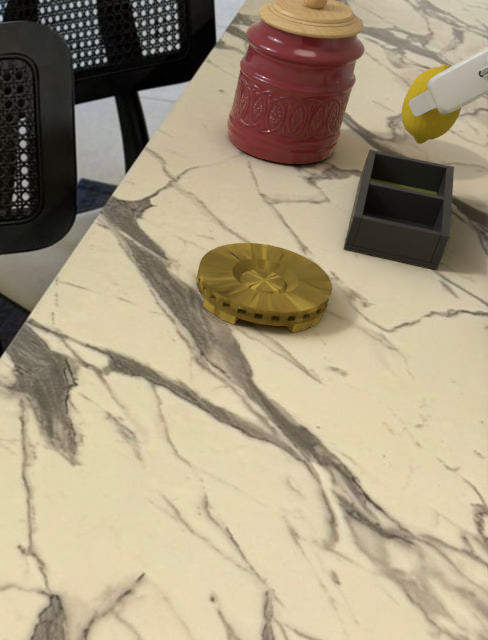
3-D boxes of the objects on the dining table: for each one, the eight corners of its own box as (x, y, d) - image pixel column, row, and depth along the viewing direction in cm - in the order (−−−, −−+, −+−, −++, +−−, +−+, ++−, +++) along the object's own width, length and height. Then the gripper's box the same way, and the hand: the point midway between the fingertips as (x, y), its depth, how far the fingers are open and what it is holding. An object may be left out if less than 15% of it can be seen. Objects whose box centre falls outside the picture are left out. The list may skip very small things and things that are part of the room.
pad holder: (442, 197, 113) (454, 166, 110) (436, 270, 100) (449, 237, 98) (359, 179, 115) (369, 149, 112) (343, 249, 102) (353, 216, 100)
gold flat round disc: (194, 322, 90) (199, 301, 89) (194, 256, 99) (198, 235, 97) (331, 341, 89) (338, 320, 88) (319, 272, 98) (325, 252, 97)
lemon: (411, 128, 109) (437, 51, 103) (456, 147, 106) (486, 69, 100) (381, 139, 106) (406, 60, 101) (426, 159, 103) (455, 79, 97)
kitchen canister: (225, 114, 126) (258, -41, 114) (331, 128, 125) (375, -26, 113) (223, 157, 117) (258, -7, 105) (338, 173, 115) (386, 9, 104)
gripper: (542, 84, 86) (398, 156, 97) (614, 34, 99) (479, 103, 110) (511, 15, 86) (369, 95, 96) (588, -27, 98) (454, 49, 109)
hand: (428, 99), depth 103 cm, fingers closed on lemon, 5 cm apart
